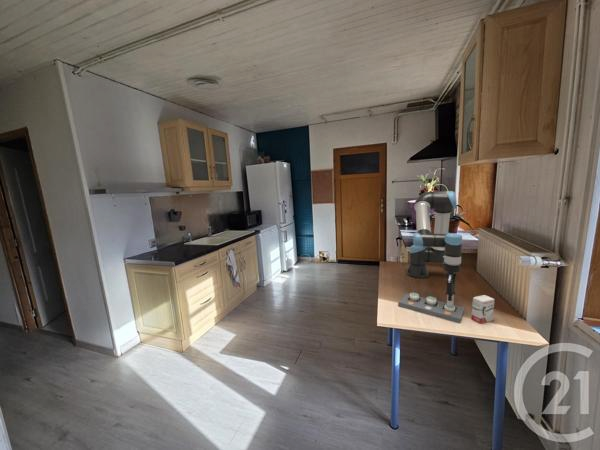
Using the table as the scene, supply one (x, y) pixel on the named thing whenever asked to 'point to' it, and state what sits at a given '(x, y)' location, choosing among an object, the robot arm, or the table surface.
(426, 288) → the table surface
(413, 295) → the button
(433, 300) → the button
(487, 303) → the ink box
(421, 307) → the board
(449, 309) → the button
